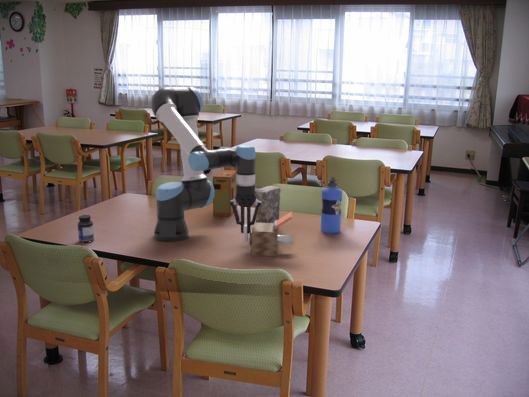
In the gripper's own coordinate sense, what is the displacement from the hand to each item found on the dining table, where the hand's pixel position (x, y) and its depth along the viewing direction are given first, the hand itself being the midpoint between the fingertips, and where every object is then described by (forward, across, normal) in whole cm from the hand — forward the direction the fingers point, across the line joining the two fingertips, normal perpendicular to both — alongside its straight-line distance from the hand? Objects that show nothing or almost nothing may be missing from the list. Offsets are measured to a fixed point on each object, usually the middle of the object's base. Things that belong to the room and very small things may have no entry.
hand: (245, 240), depth 219 cm
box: (+4, -18, +57) cm, 60 cm away
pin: (+2, +11, 0) cm, 11 cm away
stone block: (+4, +6, +28) cm, 29 cm away
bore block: (+4, +8, 0) cm, 9 cm away
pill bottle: (+4, -69, +4) cm, 69 cm away
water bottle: (+4, +35, +30) cm, 47 cm away
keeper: (-8, +16, 0) cm, 18 cm away
